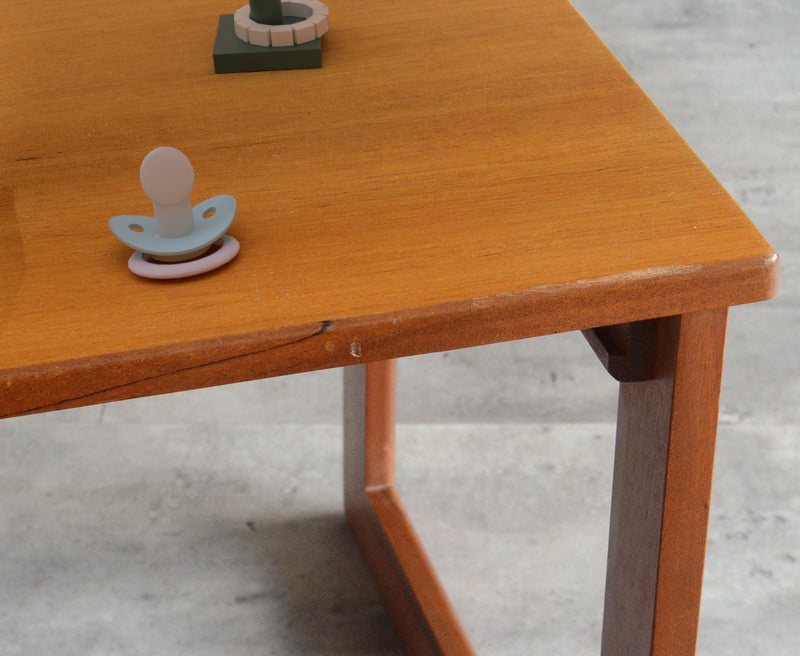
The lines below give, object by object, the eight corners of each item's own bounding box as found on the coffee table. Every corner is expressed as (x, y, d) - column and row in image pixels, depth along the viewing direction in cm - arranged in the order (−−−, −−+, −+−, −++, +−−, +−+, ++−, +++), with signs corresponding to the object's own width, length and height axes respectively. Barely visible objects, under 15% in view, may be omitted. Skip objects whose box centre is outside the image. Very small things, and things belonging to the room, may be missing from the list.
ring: (234, 49, 89) (232, 34, 88) (237, 14, 94) (235, -1, 93) (331, 43, 89) (329, 27, 88) (327, 8, 94) (326, -7, 94)
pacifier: (256, 270, 68) (232, 217, 72) (244, 173, 64) (219, 123, 68) (128, 297, 66) (111, 242, 70) (106, 199, 62) (90, 147, 66)
